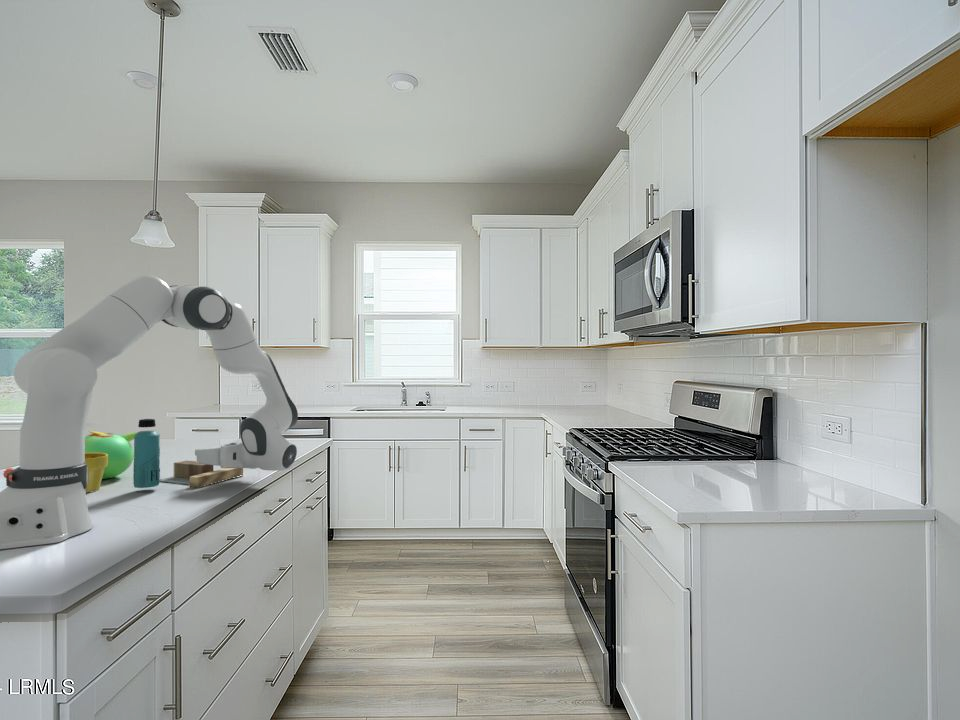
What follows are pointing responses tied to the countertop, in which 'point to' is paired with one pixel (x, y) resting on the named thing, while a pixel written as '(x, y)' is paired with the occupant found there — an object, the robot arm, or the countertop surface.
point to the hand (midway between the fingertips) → (209, 449)
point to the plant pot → (95, 469)
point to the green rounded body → (112, 451)
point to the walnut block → (190, 469)
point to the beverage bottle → (146, 456)
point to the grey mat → (176, 480)
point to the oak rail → (214, 476)
